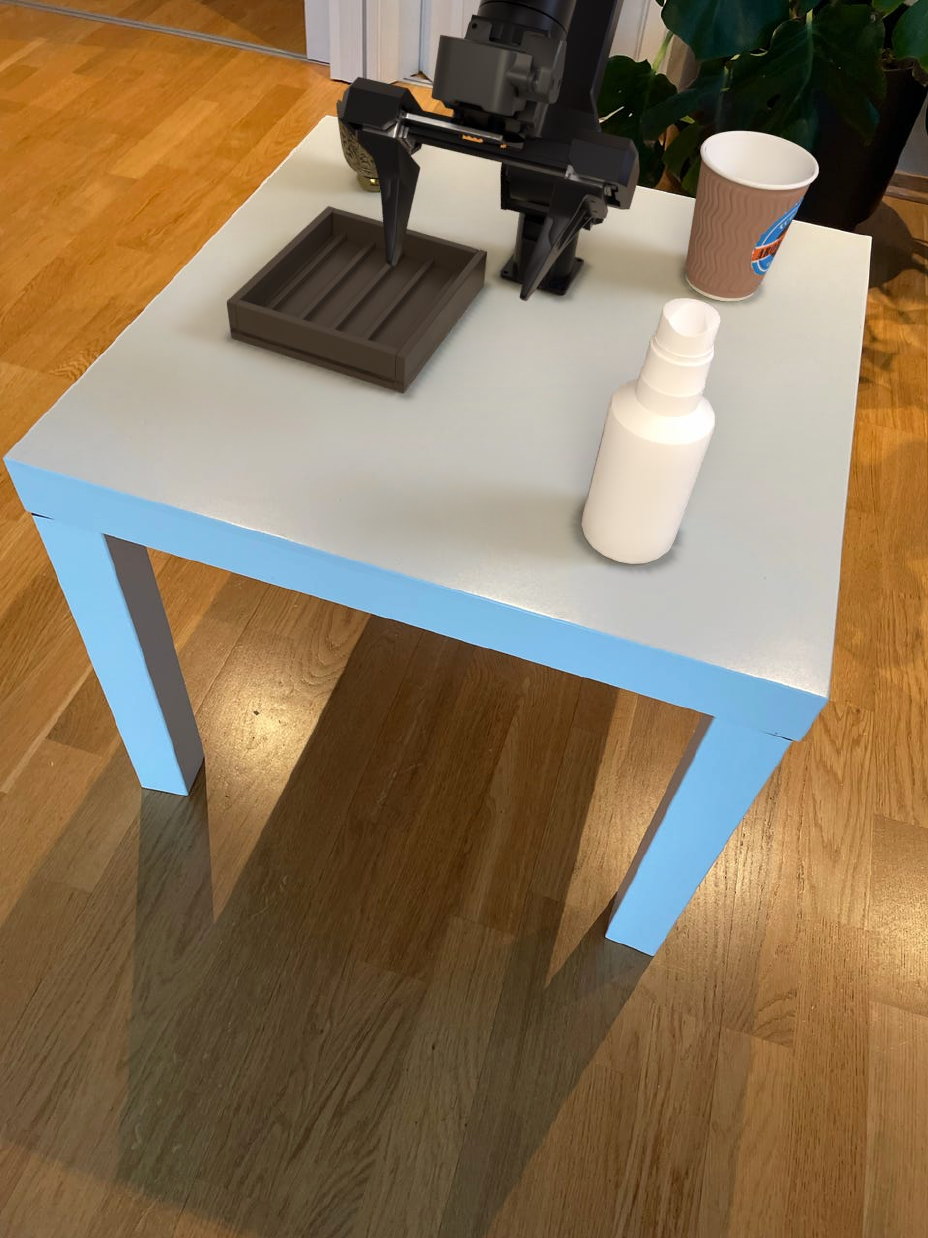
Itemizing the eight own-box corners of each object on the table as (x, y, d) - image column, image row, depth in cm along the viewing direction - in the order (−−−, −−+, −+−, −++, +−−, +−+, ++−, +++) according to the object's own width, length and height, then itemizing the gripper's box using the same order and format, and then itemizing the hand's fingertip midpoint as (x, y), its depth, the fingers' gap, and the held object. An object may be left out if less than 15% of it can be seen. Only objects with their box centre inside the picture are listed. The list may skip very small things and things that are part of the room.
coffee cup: (753, 325, 87) (799, 198, 78) (651, 287, 90) (683, 161, 80) (787, 276, 93) (833, 152, 84) (690, 242, 96) (724, 119, 86)
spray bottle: (681, 514, 70) (757, 298, 56) (663, 577, 66) (741, 361, 52) (593, 489, 71) (646, 270, 57) (570, 549, 67) (621, 330, 53)
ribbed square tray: (329, 240, 91) (328, 205, 88) (484, 286, 88) (487, 251, 85) (231, 338, 80) (226, 301, 77) (403, 393, 77) (404, 357, 74)
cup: (330, 196, 96) (327, 114, 90) (347, 163, 101) (346, 83, 94) (402, 207, 96) (404, 126, 89) (416, 174, 100) (419, 94, 94)
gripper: (339, -75, 52) (276, 217, 55) (670, -8, 49) (583, 296, 52) (394, 17, 63) (339, 257, 66) (668, 77, 60) (596, 324, 63)
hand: (456, 282), depth 62 cm, fingers open, 9 cm apart
